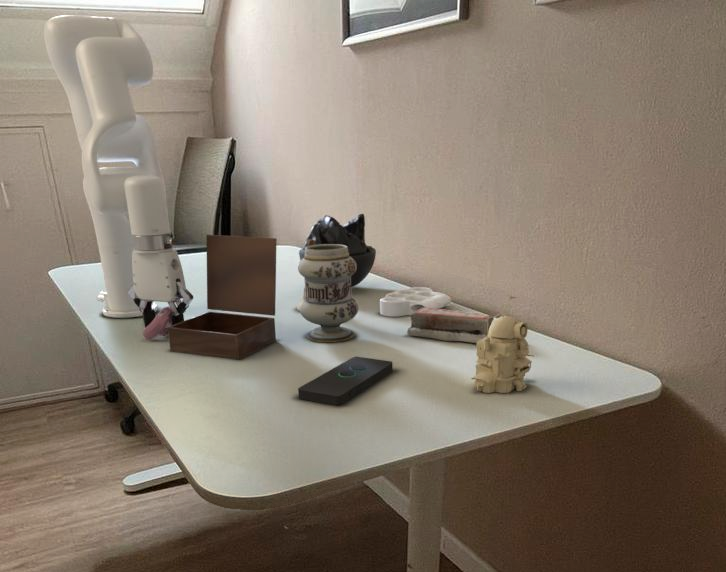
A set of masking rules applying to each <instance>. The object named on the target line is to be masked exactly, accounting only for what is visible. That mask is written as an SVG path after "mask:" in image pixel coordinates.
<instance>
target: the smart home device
mask: <svg viewBox="0 0 726 572" xmlns="http://www.w3.org/2000/svg"><path fill="white" fill-rule="evenodd" d="M393 367H394V366H393V361H391V360H385V359H378V358H377V359H376V358H370V357H364V356H353V357H351V358H349V359H347V360H345V361H343V362H342V363H340V364H338V365H336V366H335V367H333V368H331V369H329V370H328V371H326V372H324V373H322V374H320V375H319V376H317V377H315V378H314V379H311V380H310V381H308V382H307V383H305V384H303V385H301V386H300V387H298V388H297V395H298V399H299V400H305V401H310V402H316V403H322V404H327V405H334V406H341V405H343V404H344V403H346V402H348V401H349V400H350V399H352V398H354V397H356V396H357V395H358V394H360V393H361V392H363V391H365V390H366V389H367V388H369V387H371V386H372V385H374V384H375V383H377V382H378V381H380V380H381V379H383V378H384V377H387V376H388V375H389V374H390V373H392V372H393Z"/></svg>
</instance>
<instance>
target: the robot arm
mask: <svg viewBox="0 0 726 572" xmlns="http://www.w3.org/2000/svg"><path fill="white" fill-rule="evenodd" d="M43 38H44V39H43V40H44V44H45V50H46V53H47V56H48V58H49V61H50V64H51V66H52V68H53V70H54V73H55V74H56V76H57V78H58V80H59V82H60V84H61V85H62V87H63V89H64V92H65V94H66V97H67V99H68V103H69V107H70V111H71V112H70V113H71V117H72V120H73V124H74V128H75V132H76V136H77V140H78V144H79V147H80V149H81V168H82V169H81V170H82V173H83V179H82V188H83V193H84V196H85V200H86V203H87V205H88V209H89V211H90V215H91V219H92V222H93V227H94V232H95V237H96V242H97V247H98V253H99V259H100V265H101V270H102V276H103V281H104V288H105V291H100V292H99V294H98V295H97V296H96V300H97V302H102V303H103V302H104V306H103V308H102V314H103V315H104V316H106V317H109V318H116V319H128V318H139V317H142V318H143V325H144V329H145V328H146V327H147V326H148V325H149V324H150V323H151V322H152V321H153V320H154V318H155V317H156V316H157V314H156V312H157V311H158V310H159V308H158V304H157V303H155V302H160V303H167V304H168V306H170V308H171V310H172V312H173V314H174V315H172V316H171V319H172V325H175V324H178V323H180V322H183V321H185V316H184V314H185V313H186V311H187V309H188V308H189V306H190V304H191V303H192V301H193V300H194V295H193V294H192V293H191V292H190V290H189V289H188V288H187V285H186V280H185V275H184V270H183V265H182V263H181V259H180V257H179V253H178V251H177V249H174V248H173V246H176V239H175V238H174V237H172V233H171V225H170V219H169V209H168V204H167V192H166V185H165V180H164V175H163V171H162V167H161V163H160V158H159V152H158V148H157V145H156V139H155V136H154V133H153V132H154V131H153V130H152V127H151V125H150V124H149V122H148V120H147V119H146V118H145V117H143V116H142V115H140V114H137V113H136V111H135V107H134V103H133V100H132V95H131V91H130V89H129V87H144V86H148V85H149V84H150V83H151V82H152V80H153V76H154V65H153V60H152V57H151V54H150V51H149V48H148V46H147V44H146V42H145V41H144V40H143V38H142V36H141V35H140V33H138V32H137V30H135V28H134V27H133V26H132V25H131V24H130V22H129V21H127V20H126V19H123V18H121V17H120V18H118V17H111V16H110V17H108V16H107V17H106V16H91V15H77V14H76V15H75V14H74V15H72V14H71V15H69V14H68V15H57V16H54V17H52V18H49V19H48V20H47V21H46V22H45V24H44V27H43ZM122 162H123V163H125V162H131V163H134V166H106V167H105V166H104V167H99V163H122ZM126 215H128V217H127V216H126Z"/></svg>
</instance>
